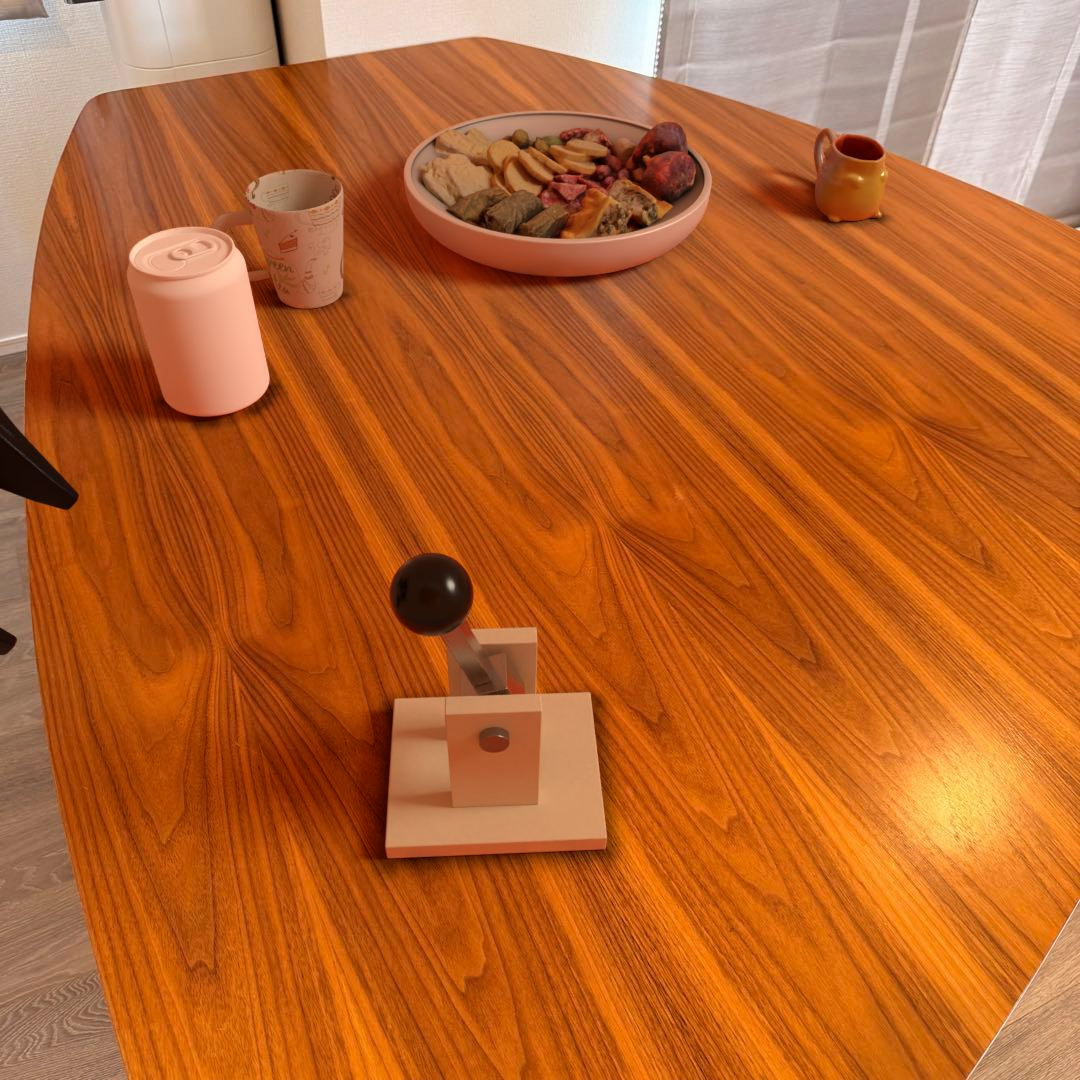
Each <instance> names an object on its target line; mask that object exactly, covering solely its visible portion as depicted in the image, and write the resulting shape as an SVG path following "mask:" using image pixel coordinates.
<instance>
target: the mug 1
mask: <svg viewBox="0 0 1080 1080" xmlns="http://www.w3.org/2000/svg"><path fill="white" fill-rule="evenodd" d="M244 197H245V203H246V207H247V209H243V210H236V211H235V210H234V211H229V212H226V213H225V212H224V213H222V214H220V215H219V216H217V217H216V218H215V219H214V221H213V222H212V223H211V224H210V226H209V228H211V229H215V230H219V231H221V232H223V233H225V234H226V232H227V231H228V230H229V229H231V228H233V227H237V226H238V227H239V226H250V225H253V226H254V230H255V232H256V236H257V239H258V242H259V244H260V247H261V251H262V254H263V256H264V259H265V262H266V265H267V268H268V269H261V270H260V269H259V270H253V271H252V270H251V271H247V272H248V277H249V282H257V281H262V280H267V279H272V283H273V286H274V288H275V291H276V294H277V296H278V299H279V301H281V302H282V303H283V304H285V305H286V306H288V307H291V308H295V309H302V310H303V309H304V310H306V309H309V310H311V309H317V308H322V307H323V308H324V307H326V306H328V305H331V304H332V303H333V304H334V302H336V301H337V300H339V298H340V297H342V294H343V291H344V198H345V197H344V188H343V185H342V183H341V181H340V180H339V179H338V178H337V177H335V176H334V175H332V174H330V173H327V172H323V171H320V170H315V169H299V168H297V169H287V170H280V171H275V172H271V173H267V174H264V175H263V176H260V177H258V178H256V179H255V180H253V181H251V183H249V185H248V186H247V187H246V188H245V191H244Z"/></svg>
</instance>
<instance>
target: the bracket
mask: <svg viewBox="0 0 1080 1080" xmlns="http://www.w3.org/2000/svg"><path fill="white" fill-rule="evenodd" d="M470 629H471V630H472V632H473V634H474V635H475V637H476V639H477V640H478V642H479V644H480V645H481V647H482V649H483V650H484V652H485V653H486V655H487V656H491V655H495V654H499V653H502V652H506V653H507V655H508V657H509V658H510V660H511V662H512V664H513V665H514V667H515V669H516V670H517V672H518V674H519V676H520V677H521V679H522V681H523V682H524V684H525V694H515V695H485V696H460V666H459V664H458V663H457V661H456V660H455V658H454V656H453V655H452V653H451V652H450V650H449V649H448V647H447V646H446V645H445V651H446V665H447V678H448V692H449V696H429V697H404V698H402V697H401V698H398V697H397V698H394V700H393V709H392V711H393V712H392V728H391V745H390V759H389V760H390V761H389V774H388V775H389V776H388V790H387V791H388V792H387V805H386V806H387V808H386V821H385V822H386V823H385V837H384V839H385V841H384V849H385V854H386V858H387V859H404V858H406V859H407V858H431V857H452V856H454V857H455V856H477V855H479V856H481V855H501V854H522V853H523V854H524V853H525V854H526V853H527V854H528V853H546V852H547V853H548V852H572V851H596V850H597V851H598V850H606V847H607V840H608V835H607V834H608V833H607V825H606V824H607V823H606V815H605V805H604V799H603V790H602V781H601V780H602V779H601V771H600V764H599V755H598V747H597V738H596V730H595V729H596V728H595V721H594V711H593V703H592V695H591V692H590V691H583V692H582V691H581V692H580V691H579V692H578V691H577V692H554V693H553V692H552V693H548V692H547V693H537V678H538V677H537V676H538V674H537V673H538V672H537V671H538V631H537V630H538V629H537V627H536V626H527V627H526V626H525V627H523V626H522V627H495V628H493V627H491V628H488V627H487V628H470Z"/></svg>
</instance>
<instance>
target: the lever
mask: <svg viewBox="0 0 1080 1080" xmlns="http://www.w3.org/2000/svg"><path fill="white" fill-rule="evenodd" d="M474 591H475V590H474V585H473V580H472V578H471V576H470V573H468V571H467V569H466V568H465V567H464V566H463V565H462V564H461V562H459V560H456V559H455V558H453V557H452V556H449V555H447V554H444V553H439V552H424V553H420V554H417V555H415V556H412V557H410V558H408V559H407V560H406V561H404V563H402V564H401V565H400V566H399V568H398V569H397V570H396V572H395V573H394V575H393V577H392V579H391V582H390V586H389V594H388V595H389V597H388V598H389V604H390V608H391V611H392V613H393V615H394V616H395V618H396V620H397V621H398V622H399V623H400V624H401V626H403V628H405V629H406V630H408V631H410V632H411V633H413V634H416V635H419V636H423V637H432V638H433V637H440V638H441V640H442V641H443V643H444V644H445V647H446V646H447V647H448V649H449V650H450V652H451V653H452V655H453V656H454V658H455V660H456V661H457V663H458V664H459V666H460V696H485V695H515V694H525V684H524V682H523V681H522V679H521V677H520V676H519V674H518V672H517V670H516V669H515V667H514V665H513V664H512V662H511V660H510V658H509V657H508V655H507V653H506V652H502V653H499V654H495V655H491V656H487V655H486V653H485V652H484V650H483V649H482V647H481V645H480V644H479V642H478V640H477V639H476V637H475V635H474V634H473V632H472V630H471V629H472V628H471V627H470V626H469V623H468V622H467V620H466V619H467V618H468V616H469V614H470V612H471V610H472V607H473V605H474V597H475V594H474V593H475V592H474Z"/></svg>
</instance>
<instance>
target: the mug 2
mask: <svg viewBox="0 0 1080 1080" xmlns="http://www.w3.org/2000/svg"><path fill="white" fill-rule="evenodd" d="M826 137H827V139H828V141H829V146H828V148H826V149H825V150H824V144H825V139H826ZM886 158H887V154H886V149H885V148H884V146H883V145H882V144H881V143H880V142H879V141H877V140H876V139H874V138H872V137H869V136H866V135H861V134H852V133H845V132H844V133H841V135H840V136H837V134H836V132H835V131H834V130H833V129H832V128H830V127H825V128H822V129H821V130H820V131H818V134H817V135H816V138H815V141H814V147H813V162H814V169H815V172H816V179H815V181H814V182H815V184H814V185H815V186H814V200H815V204H816V207H817V208H818V210H819V211H820V212H821V213H822V214H824V216H826V217H827V218H828V220H829V221H830V222H833V223H840V222H841V221H846V222H856V221H864V220H867V219H870V218H873V219H874V218H882V215H883V214H882V212H881V211H880V207H881V205H882V202H883V200H884V195H885V191H886V184H887V180H888V178H889V171H888V170H887V169H886Z"/></svg>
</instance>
